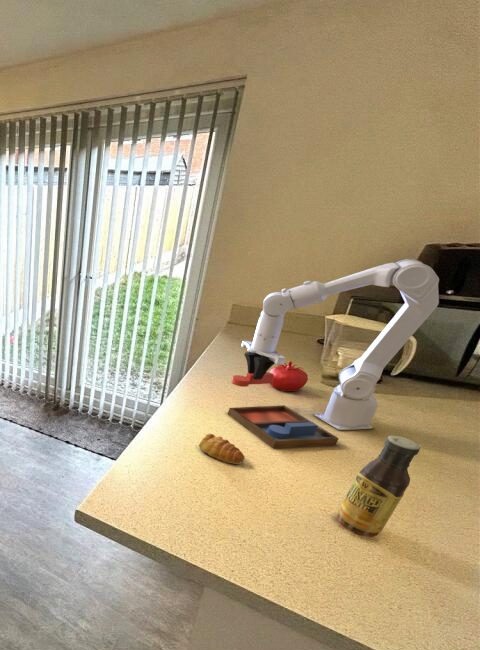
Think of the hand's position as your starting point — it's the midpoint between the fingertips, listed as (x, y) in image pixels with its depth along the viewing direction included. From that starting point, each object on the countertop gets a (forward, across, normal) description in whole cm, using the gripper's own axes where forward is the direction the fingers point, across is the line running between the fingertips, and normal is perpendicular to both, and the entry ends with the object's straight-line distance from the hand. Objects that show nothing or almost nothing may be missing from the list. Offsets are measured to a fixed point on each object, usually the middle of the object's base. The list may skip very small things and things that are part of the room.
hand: (254, 377), depth 118 cm
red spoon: (+2, 0, -1) cm, 2 cm away
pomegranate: (+8, -8, +18) cm, 22 cm away
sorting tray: (+8, +16, -3) cm, 18 cm away
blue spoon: (+8, +20, -3) cm, 21 cm away
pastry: (+8, +25, -26) cm, 37 cm away
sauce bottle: (+8, +50, -14) cm, 53 cm away
